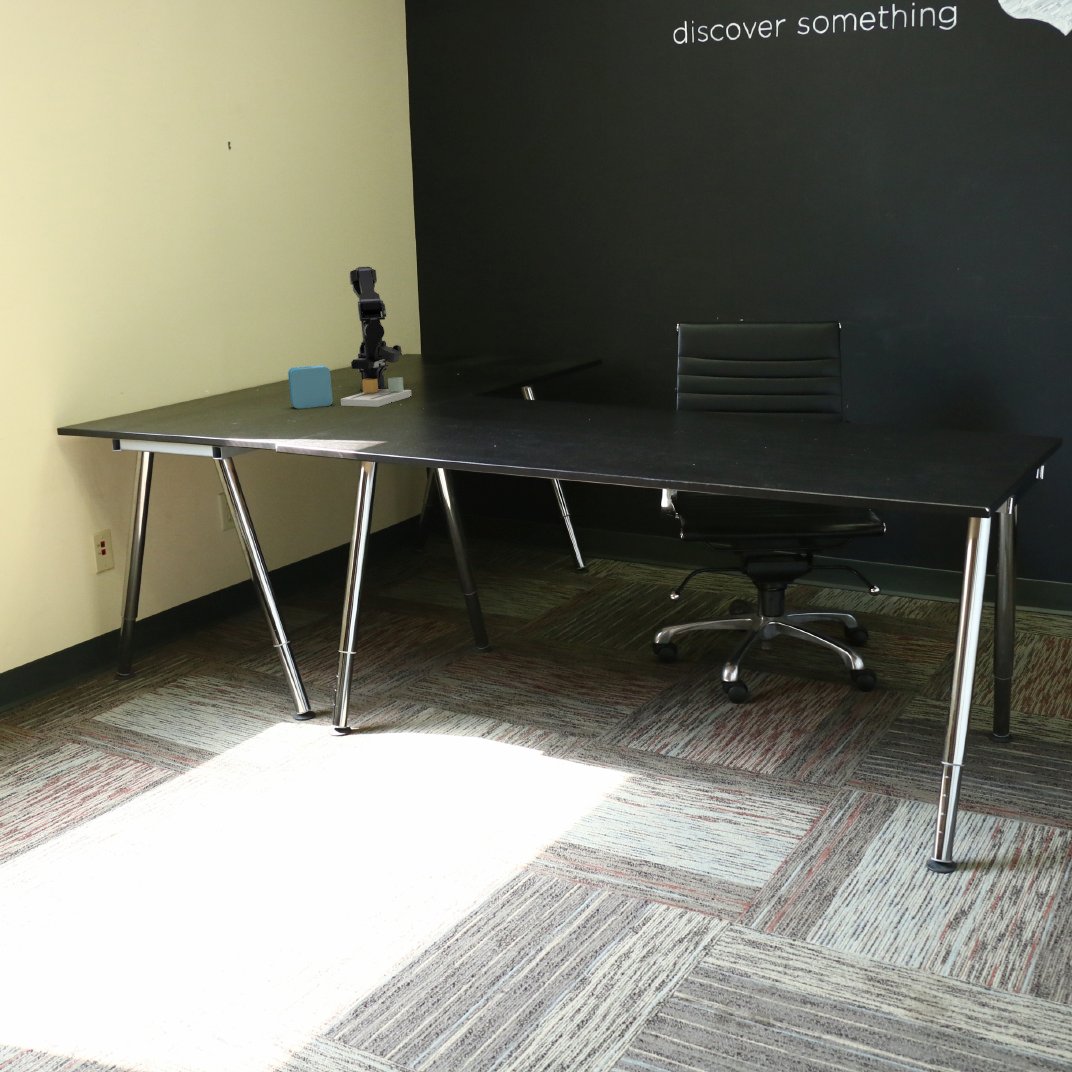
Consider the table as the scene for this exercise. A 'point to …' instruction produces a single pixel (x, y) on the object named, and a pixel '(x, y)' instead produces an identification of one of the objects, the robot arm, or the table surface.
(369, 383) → the amber fader
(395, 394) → the mixer console
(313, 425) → the table surface
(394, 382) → the sage fader
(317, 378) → the blue rounded block
